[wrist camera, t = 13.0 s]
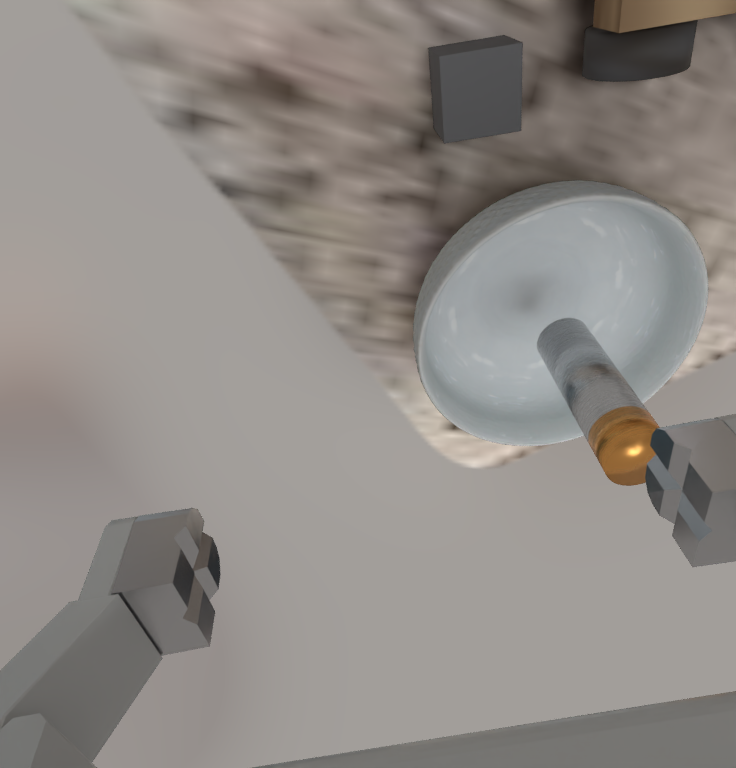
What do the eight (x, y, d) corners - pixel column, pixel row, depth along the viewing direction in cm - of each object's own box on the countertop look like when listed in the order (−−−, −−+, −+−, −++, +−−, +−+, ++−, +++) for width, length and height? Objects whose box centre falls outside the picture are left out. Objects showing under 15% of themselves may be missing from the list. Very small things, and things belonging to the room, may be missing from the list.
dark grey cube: (503, 34, 31) (522, 42, 28) (503, 116, 33) (521, 130, 30) (428, 47, 31) (439, 56, 28) (433, 127, 33) (444, 143, 30)
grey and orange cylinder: (591, 314, 33) (679, 430, 25) (586, 358, 35) (668, 480, 26) (537, 322, 33) (608, 440, 25) (536, 365, 35) (601, 489, 27)
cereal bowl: (489, 421, 46) (513, 487, 41) (350, 279, 38) (356, 335, 33) (692, 291, 41) (754, 345, 35) (580, 90, 33) (636, 118, 27)
